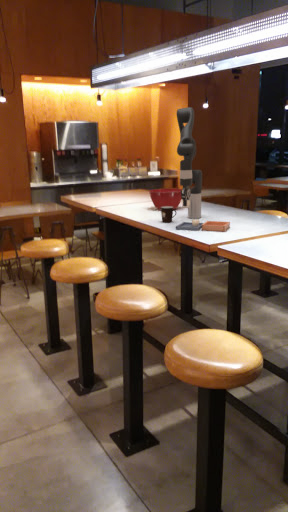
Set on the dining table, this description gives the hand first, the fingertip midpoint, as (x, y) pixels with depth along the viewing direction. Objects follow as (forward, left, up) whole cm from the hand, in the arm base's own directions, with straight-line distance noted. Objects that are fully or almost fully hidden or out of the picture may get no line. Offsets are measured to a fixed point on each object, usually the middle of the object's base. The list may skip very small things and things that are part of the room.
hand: (186, 205), depth 261 cm
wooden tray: (0, +19, -14) cm, 24 cm away
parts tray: (0, +3, -14) cm, 14 cm away
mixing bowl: (-69, -38, -14) cm, 80 cm away
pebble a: (0, 0, -1) cm, 1 cm away
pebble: (0, +6, -13) cm, 15 cm away
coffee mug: (-14, -17, -14) cm, 26 cm away
